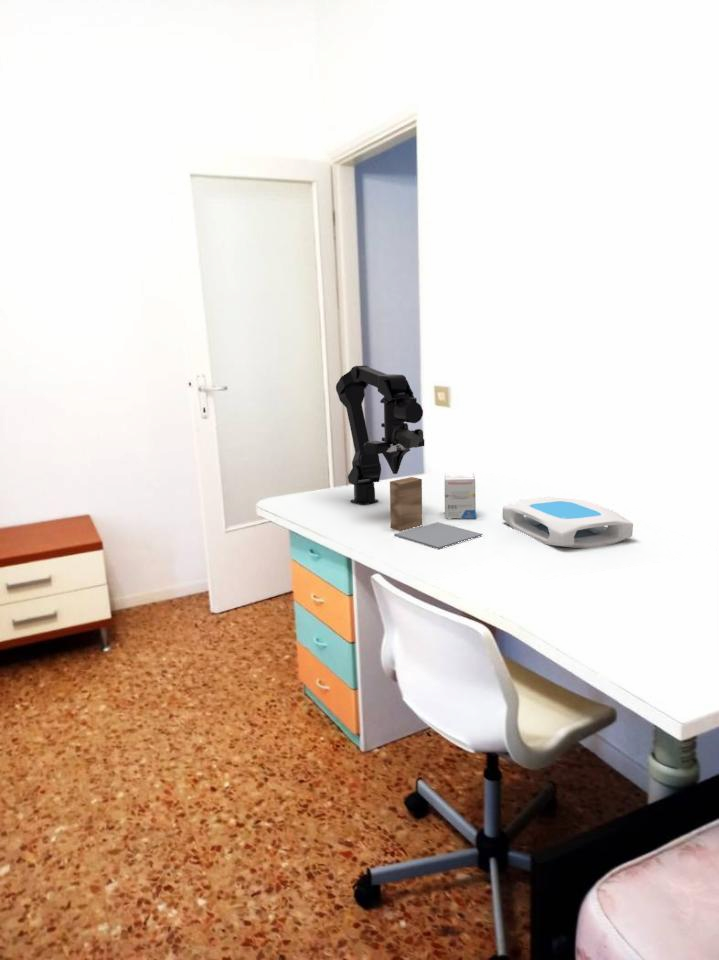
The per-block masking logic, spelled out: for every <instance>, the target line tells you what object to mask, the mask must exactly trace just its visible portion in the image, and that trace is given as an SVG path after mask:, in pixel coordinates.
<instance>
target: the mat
mask: <svg viewBox="0 0 719 960" xmlns="http://www.w3.org/2000/svg"><path fill="white" fill-rule="evenodd" d="M481 535H483V533H481V532H477V531H472V530H469V529H465V528H461V527H458V526H455V525H449V524H448V523H447V524H446V523H442V522H438V521H437V522H434V523H430V524H426V525H422V526H419V527H415V528H411V529H408V530H404V531H399V532H398V533H397V532H396V533H394V536H395V537H397V538H401V539H404V540H407V541H411V542H413V541H414V543H417V544H420V545H423V544H424V546H426V545H427V547H430V546H432V547H431V548H433V547H435V548H434V549H436V548H438V549H437V550H441V549H444V548H443V547H445V546H448V547H450V546H449V545H451V546H453V545H452V544H454V545H456V544H455V543H458V542H461V541H464V540H467V541H469V540H468V539H471V538H474V537H477V538H479V537H478V536H480V537H482V536H481ZM483 536H484V535H483ZM474 539H475V538H474ZM471 540H472V539H471ZM464 542H465V541H464ZM461 543H462V542H461ZM458 544H459V543H458ZM440 548H441V549H440ZM445 548H446V547H445Z"/></svg>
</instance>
